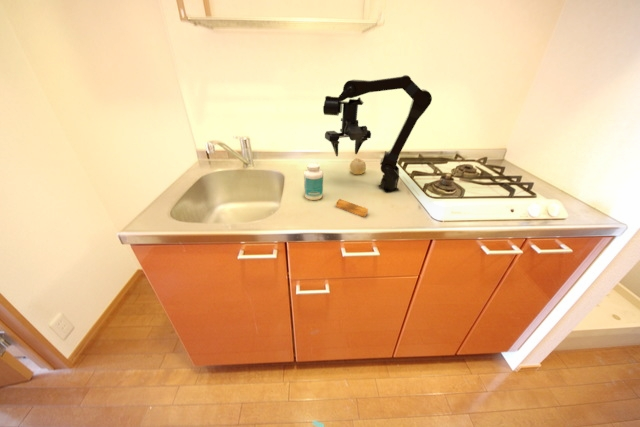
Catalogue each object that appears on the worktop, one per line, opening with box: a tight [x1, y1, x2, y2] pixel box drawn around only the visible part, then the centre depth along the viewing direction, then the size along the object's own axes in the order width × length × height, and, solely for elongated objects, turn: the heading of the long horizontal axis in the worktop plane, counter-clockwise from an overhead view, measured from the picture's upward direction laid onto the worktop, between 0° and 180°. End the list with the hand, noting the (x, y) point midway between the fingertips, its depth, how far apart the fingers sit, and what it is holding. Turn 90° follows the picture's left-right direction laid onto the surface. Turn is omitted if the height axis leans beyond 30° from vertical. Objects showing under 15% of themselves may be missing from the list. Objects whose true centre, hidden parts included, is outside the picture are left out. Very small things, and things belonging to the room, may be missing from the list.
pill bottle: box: [303, 162, 324, 201], centre depth 90 cm, size 8×7×14 cm
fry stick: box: [335, 198, 369, 218], centre depth 84 cm, size 12×2×2 cm, turn 54°
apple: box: [349, 158, 367, 175], centre depth 113 cm, size 8×8×8 cm
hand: (346, 155), depth 98 cm, fingers open, 9 cm apart
